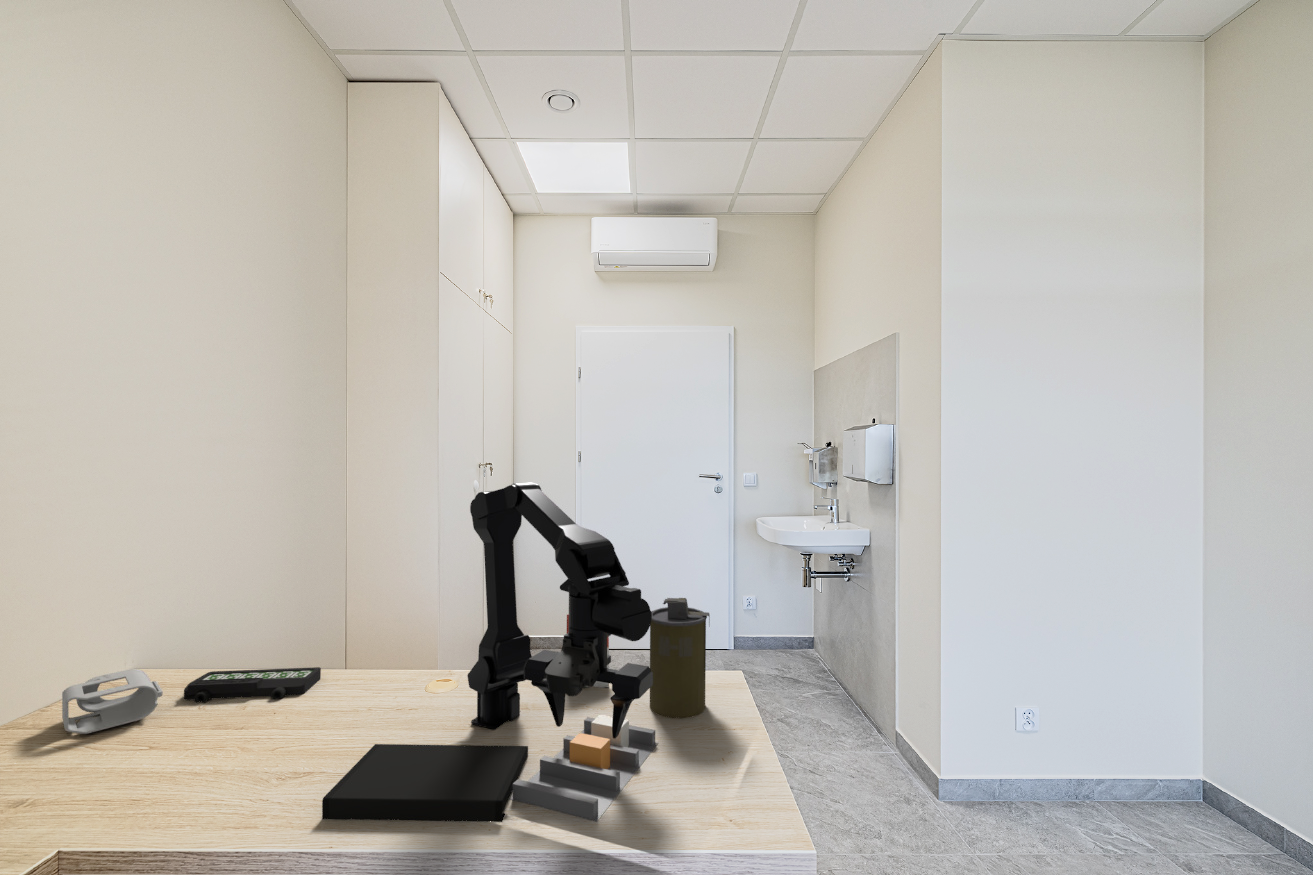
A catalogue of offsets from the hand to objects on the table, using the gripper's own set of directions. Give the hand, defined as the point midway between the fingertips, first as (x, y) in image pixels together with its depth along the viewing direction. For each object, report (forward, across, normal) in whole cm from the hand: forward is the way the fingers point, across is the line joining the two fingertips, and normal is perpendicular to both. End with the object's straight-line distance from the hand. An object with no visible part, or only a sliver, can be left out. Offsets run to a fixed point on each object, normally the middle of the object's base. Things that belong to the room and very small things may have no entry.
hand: (587, 731), depth 89 cm
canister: (+6, +6, +24) cm, 25 cm away
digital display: (+7, -74, +2) cm, 74 cm away
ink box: (+6, -14, +27) cm, 31 cm away
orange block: (+5, +1, -1) cm, 5 cm away
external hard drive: (+6, -18, -12) cm, 22 cm away
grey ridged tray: (+6, +1, -1) cm, 6 cm away
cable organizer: (+7, -84, -16) cm, 86 cm away
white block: (+5, +1, +6) cm, 8 cm away
